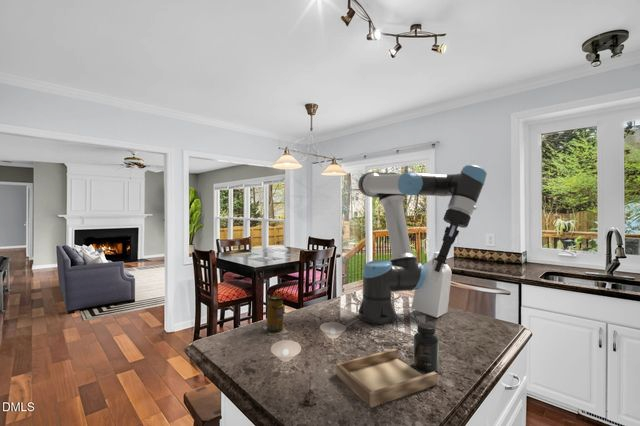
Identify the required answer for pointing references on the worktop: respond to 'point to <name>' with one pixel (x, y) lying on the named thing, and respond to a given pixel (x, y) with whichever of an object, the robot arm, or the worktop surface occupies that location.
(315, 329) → the worktop surface
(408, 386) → the tray
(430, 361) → the supplement bottle
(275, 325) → the condiment
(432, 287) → the milk
